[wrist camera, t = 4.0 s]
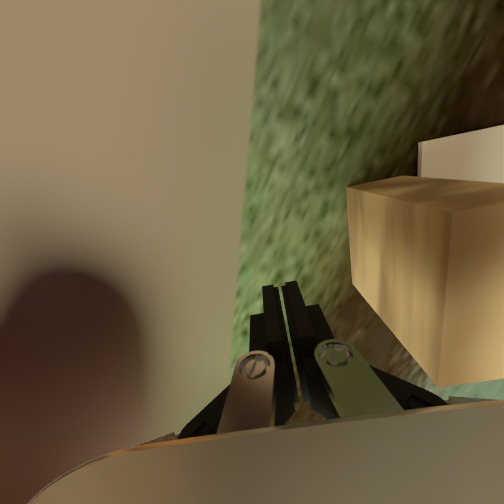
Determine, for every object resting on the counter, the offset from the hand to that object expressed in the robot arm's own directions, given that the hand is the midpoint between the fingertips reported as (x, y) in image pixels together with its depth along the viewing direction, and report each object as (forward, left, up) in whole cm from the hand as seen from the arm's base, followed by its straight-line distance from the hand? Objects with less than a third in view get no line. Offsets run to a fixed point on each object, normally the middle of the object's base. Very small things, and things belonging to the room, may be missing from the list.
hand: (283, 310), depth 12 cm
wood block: (-8, 0, -8) cm, 11 cm away
